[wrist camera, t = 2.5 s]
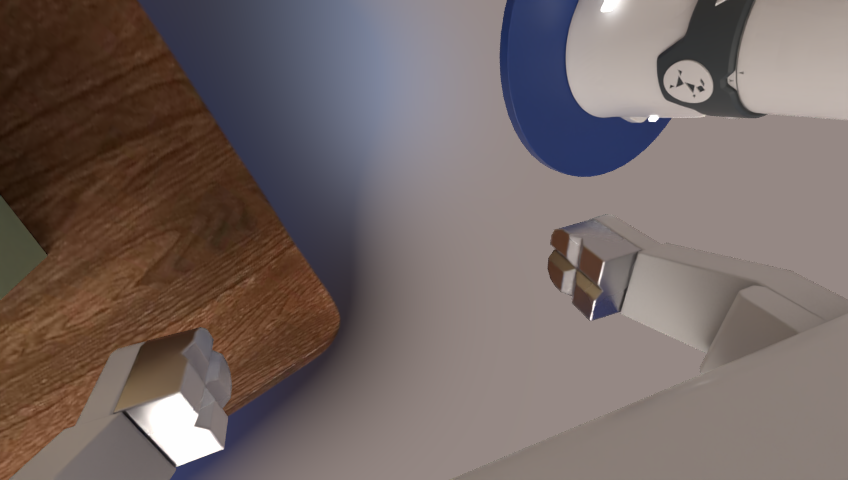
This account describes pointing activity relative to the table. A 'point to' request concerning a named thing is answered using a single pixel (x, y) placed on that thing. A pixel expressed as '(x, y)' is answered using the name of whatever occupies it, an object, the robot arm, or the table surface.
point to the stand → (15, 250)
